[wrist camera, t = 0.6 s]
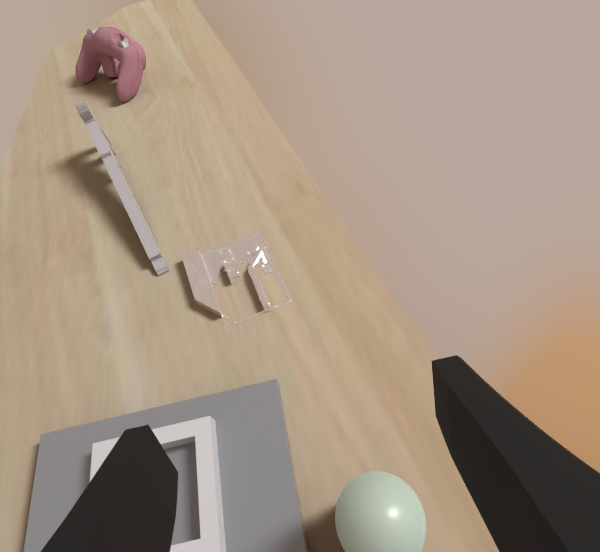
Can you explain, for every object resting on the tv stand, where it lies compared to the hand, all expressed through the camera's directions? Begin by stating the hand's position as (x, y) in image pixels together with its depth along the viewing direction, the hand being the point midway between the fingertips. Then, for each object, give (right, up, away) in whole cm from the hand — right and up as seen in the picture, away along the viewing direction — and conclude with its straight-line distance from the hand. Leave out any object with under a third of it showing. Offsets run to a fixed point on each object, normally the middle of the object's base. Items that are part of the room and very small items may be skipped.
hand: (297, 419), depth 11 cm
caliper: (-16, +11, +31) cm, 36 cm away
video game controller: (-23, +28, +43) cm, 56 cm away
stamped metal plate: (-5, +3, +24) cm, 25 cm away
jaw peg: (+4, -11, +13) cm, 17 cm away
